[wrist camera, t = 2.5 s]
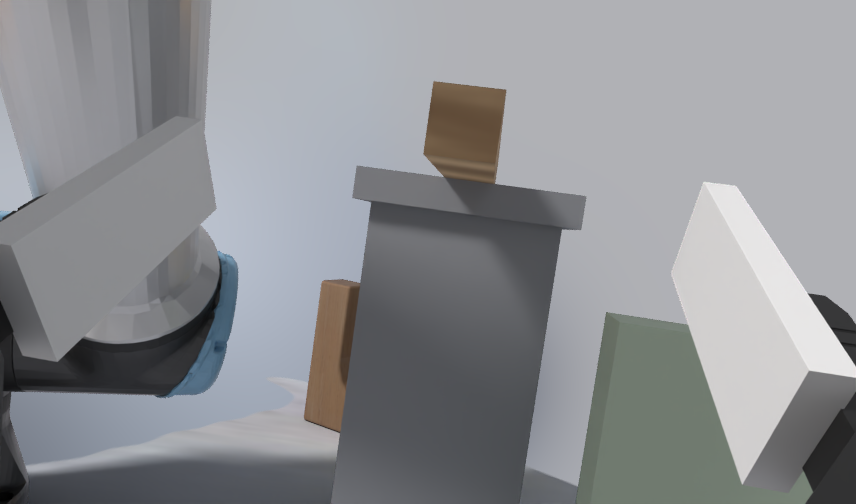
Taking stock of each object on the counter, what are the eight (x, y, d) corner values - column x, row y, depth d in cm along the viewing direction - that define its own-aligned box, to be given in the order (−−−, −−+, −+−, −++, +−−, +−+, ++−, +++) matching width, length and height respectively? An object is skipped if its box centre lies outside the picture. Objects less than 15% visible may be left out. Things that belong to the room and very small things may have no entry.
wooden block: (381, 431, 72) (400, 291, 71) (361, 441, 68) (381, 293, 67) (324, 411, 76) (341, 278, 75) (302, 420, 72) (320, 279, 71)
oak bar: (495, 163, 23) (506, 89, 23) (423, 154, 24) (433, 81, 23) (492, 198, 51) (497, 165, 51) (459, 193, 51) (464, 160, 51)
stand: (511, 675, 35) (586, 196, 34) (295, 627, 37) (356, 165, 35) (503, 514, 55) (550, 207, 53) (363, 487, 57) (405, 188, 55)
